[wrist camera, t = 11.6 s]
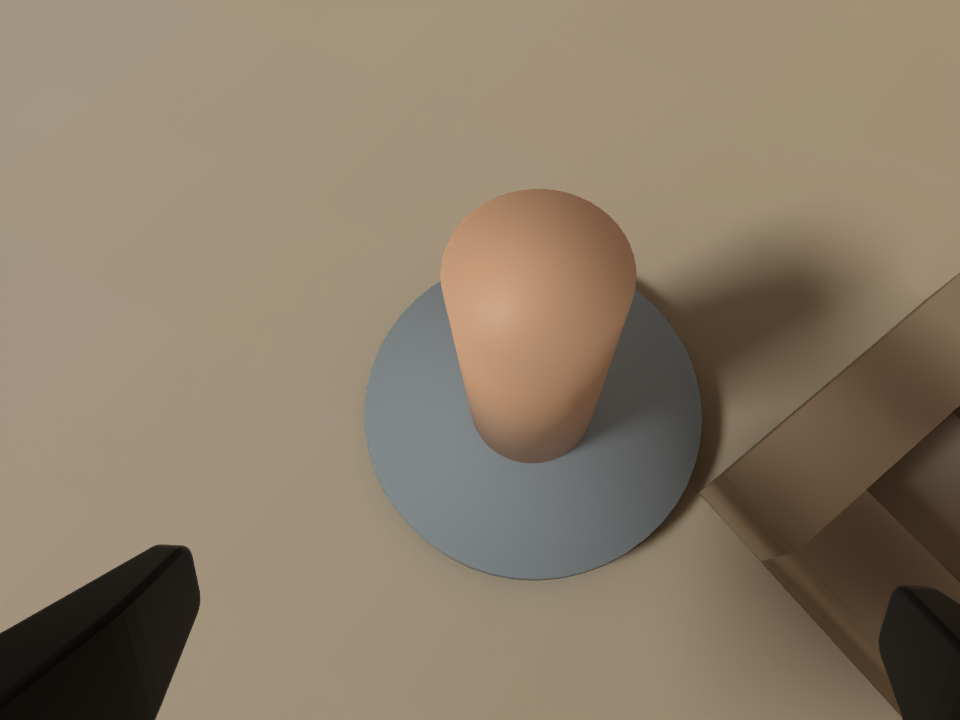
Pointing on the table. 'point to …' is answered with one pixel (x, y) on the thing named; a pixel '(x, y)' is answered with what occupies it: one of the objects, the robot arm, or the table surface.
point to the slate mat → (532, 486)
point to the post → (536, 316)
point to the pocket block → (850, 483)
